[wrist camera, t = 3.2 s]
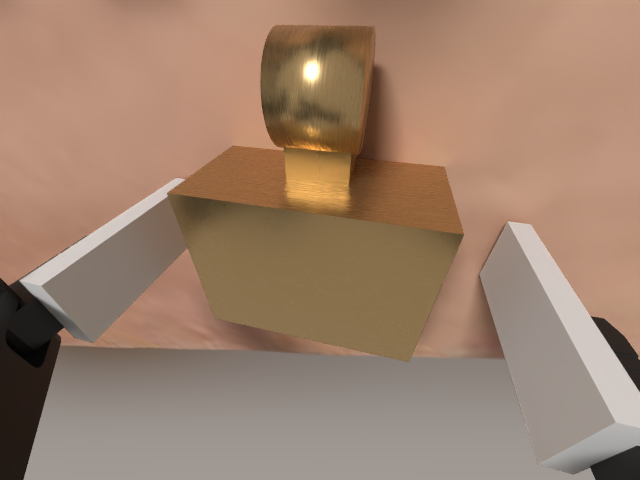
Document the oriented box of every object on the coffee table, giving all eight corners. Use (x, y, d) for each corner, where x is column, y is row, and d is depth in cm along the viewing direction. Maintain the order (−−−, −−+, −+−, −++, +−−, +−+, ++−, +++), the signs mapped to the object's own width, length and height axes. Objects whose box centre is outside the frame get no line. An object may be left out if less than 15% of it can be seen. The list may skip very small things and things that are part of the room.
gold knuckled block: (209, 23, 8) (101, 23, 5) (487, 27, 7) (552, 29, 4) (254, 256, 15) (215, 318, 12) (407, 283, 13) (408, 362, 10)
